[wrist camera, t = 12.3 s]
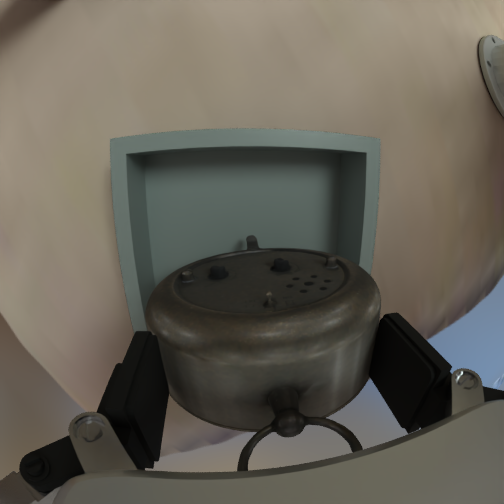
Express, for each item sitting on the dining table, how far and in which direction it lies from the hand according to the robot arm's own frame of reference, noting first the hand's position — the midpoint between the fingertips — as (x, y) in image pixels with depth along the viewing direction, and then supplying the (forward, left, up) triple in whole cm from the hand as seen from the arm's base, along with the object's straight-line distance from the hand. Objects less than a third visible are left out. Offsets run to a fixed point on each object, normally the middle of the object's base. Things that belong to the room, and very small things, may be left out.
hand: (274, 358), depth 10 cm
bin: (0, 0, -12) cm, 12 cm away
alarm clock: (0, 0, -10) cm, 10 cm away
